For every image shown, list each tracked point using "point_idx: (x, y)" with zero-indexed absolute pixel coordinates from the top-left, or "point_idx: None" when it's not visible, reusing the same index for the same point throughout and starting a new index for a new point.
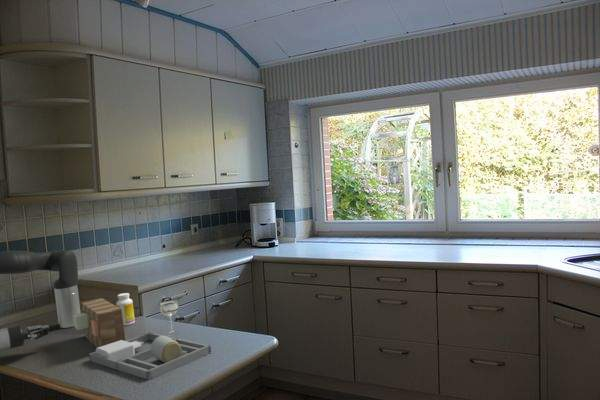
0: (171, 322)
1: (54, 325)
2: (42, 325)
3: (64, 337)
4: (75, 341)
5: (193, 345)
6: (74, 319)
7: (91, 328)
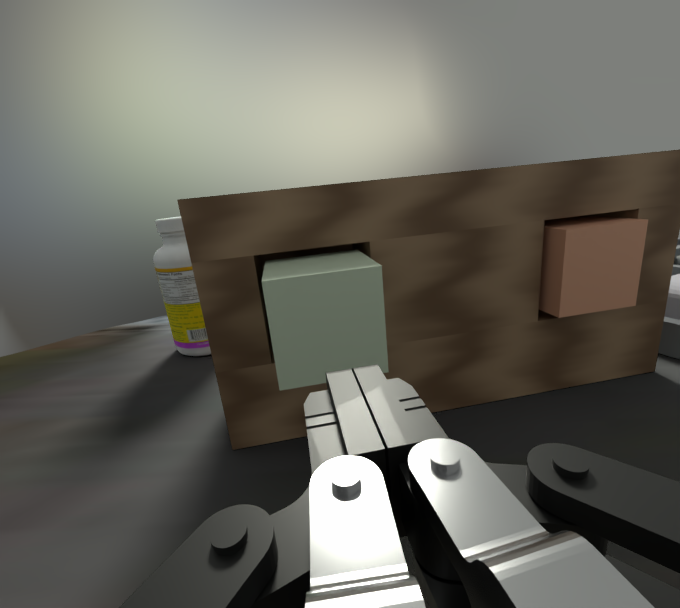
0: None
1: (392, 399)
2: (231, 568)
3: (20, 595)
4: (284, 497)
5: None
6: (303, 311)
7: (451, 317)
